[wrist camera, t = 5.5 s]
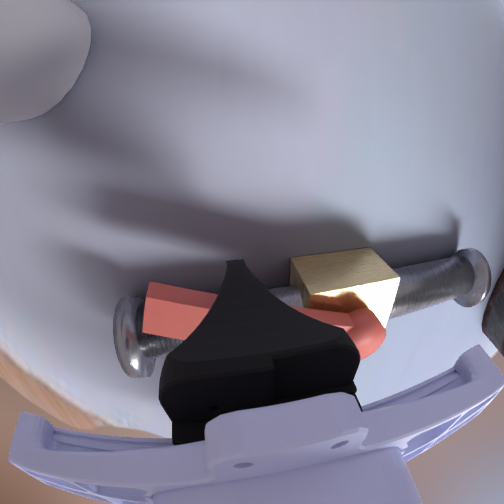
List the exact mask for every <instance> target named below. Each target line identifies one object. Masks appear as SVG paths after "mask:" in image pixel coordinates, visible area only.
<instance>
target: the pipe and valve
mask: <svg viewBox="0 0 504 504" xmlns="http://www.w3.org/2000/svg"><path fill="white" fill-rule="evenodd" d="M490 286H491V271H490V267H489V264H488V262H487V260H486V258H485V257H484V256H483V254H482V253H481V252H479V251H478V250H476V249H473V248H467V249H462V250H459V251H457V252H456V253H454V254H453V256H452V257H449V258H444V259H439V260H435V261H430V262H425V263H420V264H415V265H410V266H405V267H400V268H394V269H391V268H390V267H389V266H388V265H387V264H386V263H385V262H384V261H383V260H382V259H381V258H380V257H379V256H378V255H377V254H376V253H375V252H374V251H373V250H372V249H371V248H370V247H369V248H361V249H354V250H346V251H339V252H331V253H323V254H316V255H308V256H300V257H292V258H290V286H286V287H279V288H272V289H267V290H269V291H270V292H271V293H272V294H273V295H274V296H276V297H277V298H278V299H280V300H281V301H282V302H284V303H285V304H287V305H289V306H294V307H301V308H309V309H316V310H324V311H332V312H340V313H349V312H351V311H354V310H357V309H363V308H365V309H370V310H372V311H373V312H374V313H375V315H376V316H377V317H378V319H379V320H380V322H381V323H382V325H383V326H384V327H385V326H386V323H387V320H388V319H391V318H395V317H398V316H402V315H405V314H409V313H412V312H415V311H418V310H421V309H425V308H428V307H431V306H434V305H437V304H440V303H443V302H445V301H448V300H451V299H454V300H455V301H456V302H457V303H458V304H459V305H461V306H463V307H472V306H474V305H476V304H479V303H480V302H482V301H483V300H484V299H485V298H486V296H487V294H488V292H489V290H490ZM144 309H145V302H144V300H143V299H142V298H140V297H131V298H122V299H121V300H120V301H119V302H118V304H117V306H116V309H115V313H114V320H113V335H114V344H115V349H116V353H117V357H118V360H119V362H120V365H121V367H122V368H123V370H124V372H125V373H126V374H127V375H128V376H129V377H132V378H140V377H150V376H151V375H152V373H153V370H154V365H155V358H156V357H166V356H167V354H169V353H170V352H171V351H173V350H174V349H175V348H176V347H177V346H179V345H180V344H181V343H182V342H183V341H184V340H181V339H175V338H169V337H163V336H158V335H153V334H148V333H143V332H142V330H143V319H144Z"/></svg>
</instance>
